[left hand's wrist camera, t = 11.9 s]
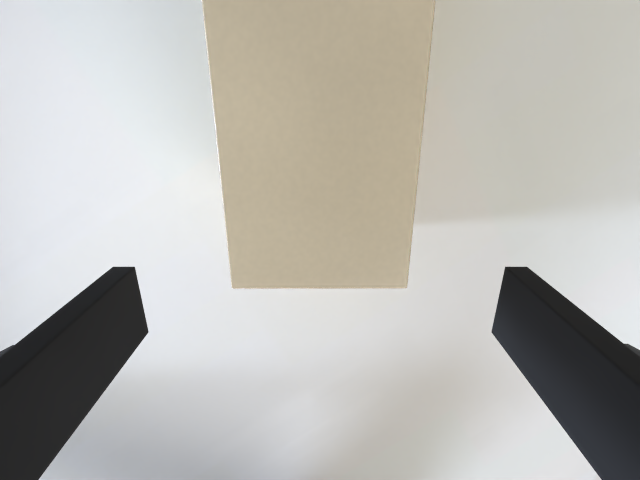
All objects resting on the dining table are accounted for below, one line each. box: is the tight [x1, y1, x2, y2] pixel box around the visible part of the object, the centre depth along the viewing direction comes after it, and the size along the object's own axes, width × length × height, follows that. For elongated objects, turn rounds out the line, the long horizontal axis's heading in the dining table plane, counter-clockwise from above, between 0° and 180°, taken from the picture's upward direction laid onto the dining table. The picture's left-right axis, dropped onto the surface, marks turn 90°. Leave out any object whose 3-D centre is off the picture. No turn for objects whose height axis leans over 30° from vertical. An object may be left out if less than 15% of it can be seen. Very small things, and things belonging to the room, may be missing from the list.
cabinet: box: [202, 0, 435, 289], centre depth 22 cm, size 20×10×11 cm, turn 0°
